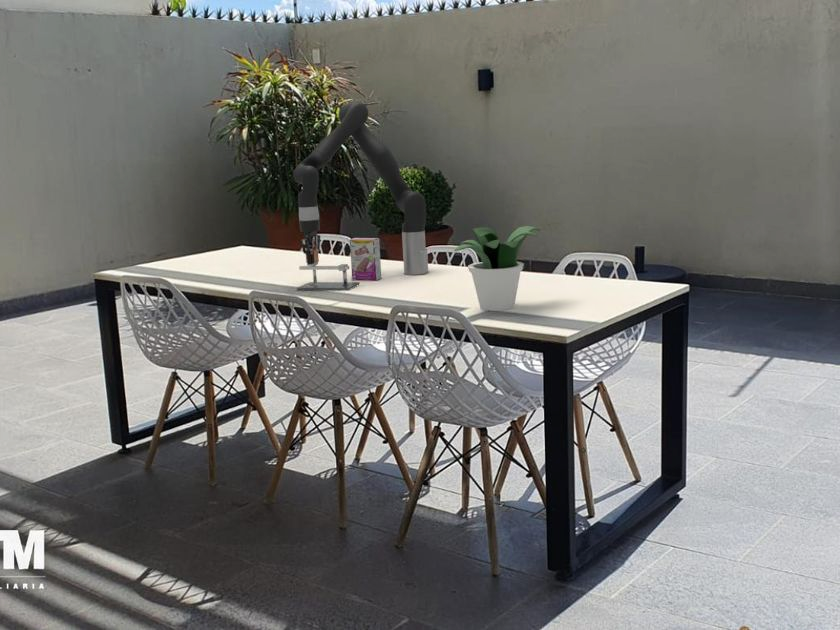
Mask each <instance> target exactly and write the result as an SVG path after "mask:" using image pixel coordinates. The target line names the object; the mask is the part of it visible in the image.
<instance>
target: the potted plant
mask: <svg viewBox="0 0 840 630" xmlns="http://www.w3.org/2000/svg"><path fill="white" fill-rule="evenodd" d="M471 231H472V233H473V234H474V236H475V238H476V240H477V241H476V240H474V239H468V240H465V241H462V242H460V243H459V246H456V248H454V250H453V251H454V252H457V251H460V250H461V251H462V250H465V249H471V250H472V251H474V252H475V253H476V254H477V255H478V257H479V258H480V259H481V262H479V261H478V262H474V263H471V264H469V265H467V269H468V271H469V273H471V275H472V280H473V284H474V288H475V292H476V296H477V300H478V304H479V309H481V310H484V311H488V310H489V312H490V311H491V312H493V311H494V312H497V311H507V310H512V309H514V308H515V305H516V300H517V299H516V298H517V293H518V288H519V281H520V275H521V271H523V270H524V265H525V263H523V262H521V261H518V255H519V252H520V251H519V250H520V248H521V247H522V244H523V242H524V240H525V239H526V238H527V237H528V236H533V237H538V235H537V234H536V233H533V232H532V231H536V232H541V229H540V228H539V227H536V226H530V225H528V226H527V225H525V226H520V227H518V228H517V229H516V230H515V229H514V231H513V232H512V233H511V234H510V236H509V237H507V240H506V241H503V242H501V239H499V237H498V235H497V233H496V231H495V230H494V229H493V228H490V227H474V228H472V230H471Z"/></svg>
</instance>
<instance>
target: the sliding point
mask: <svg viewBox="0 0 840 630" xmlns="http://www.w3.org/2000/svg"><path fill="white" fill-rule="evenodd" d="M312 255H313V264H307V255H306V254H305V263H306V266H318V265H319V262H320V259H319V250H318V249H313V254H312ZM312 277H313V278H312V279H313V282H314V284H317V282H318V279H317V270H312Z"/></svg>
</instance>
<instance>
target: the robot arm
mask: <svg viewBox="0 0 840 630" xmlns="http://www.w3.org/2000/svg"><path fill="white" fill-rule="evenodd" d="M369 114H370V113H369V109H368V107H367V105H365V104H364V103H362V102H360V101H356V102H351V103H347V104H344V105H342V106H341V107H340V108H339V111H338V119H339V121H340V123H339V124H338V125H337V126H336V127H335V128H334V129H333V130H332V131H331V132H330V133H329V134H327V135H326V136H325V137H324V138H323V139H322V140H321V141H319V143H318V144H317V145H316V146H315V148H314V149H313V151H312V152H311V153H310V155H308V156H307V157H306V158H305V159H303V160H302V161H301V162H300V163H299V164H297V166H296V167H295V169H294V170H293V174H292V175H293V176H292V177H293V179H294V182H296V183H297V184H300V185H301V187H302V188H301V191H300V192H298V193H297V195H298V196H297V197H298V199H297V200H298V218H299V219H298V222H299V230H300V232H301V233H303V239H300V243H301V244H300V245H301V249H302V252H303V254H305V256H306V255H307V263H306V265H307V264H313V255H312V254H313V249H318V251H320V249H321V247H320V246H321V234H318V233H317V232H318V231H320V230H321V229H320V228H321V226H320V212H319V207H318V198H317V196H318V195H317V194H318V191H319V190H318V189H319V184H320V183H319V182H320V176H319V172H318V171H319V170H320V169H322V168H325V166H326V165H328V163H329V162H330V161H331V160H332V158H333V157H334V155H335V154H336V153H337V152H338V150H339V149H340V148H341V147H342V146H343V145H344V144H345V143H346V141H347V140H348V139H349V138H350V137H351V136H352V138H353V139H354V141H355V143H356V144H357V145H358V146H359V148H360V150H361V151H362V152H363V154H364V155H365V156H366V158H367V160H368V162H369V163H370V164H371V166H372V167H373V169H374V171H375V172H376V174H377V175H378V176H379V178H380V179H381V180H382V182H383V184H385V186H386V187H387V188H388V190H389V192H390V194H391V195H392V198H393V199H394V201H395V203H396V205H397V207H398V209H399V210H400V211H401V212H402V213H404V222H403V223H402V225H401V236H402V237H401V239H402V256H403V257H402V258H403V273H404V275H407V276H414V275H415V276H416V275H425V274H427V273H429V260H428V259H429V258H428V248H426V233H425V232H426V231H425V226H426V223H427V204H426V199H425V197H424V195H423V194H422V193H420V192H418V191H413V190H412V189H411V188H410V186H409V185H408V183H406V181H405V180H404V178H403V176H402V173H401V169H400V167H399V163H398V160H397V159H396V157H395V156H394V155H393V153H392V151H391V150H390V148H389V147H388V146H387V145H386V143H384V141H382V140H381V139H380V138H379V137H377V136H376V135H374V134H373V132H371V130H370V129H369V128H368V126H367V124H366V122H367V121H368V119H369Z"/></svg>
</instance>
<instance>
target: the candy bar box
mask: <svg viewBox="0 0 840 630" xmlns="http://www.w3.org/2000/svg"><path fill="white" fill-rule="evenodd" d="M380 243H381V242H380V238H377V237H373V238H372V237H371V238H370V237H353V238H350V239H349V248H350V249H349V250H350V251H349V252H350V263H351V265H350V267H351V279H356V280H357V281H379V280H381V279H382V267H381V266H382V263H381V250H380V249H381V245H380Z"/></svg>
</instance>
